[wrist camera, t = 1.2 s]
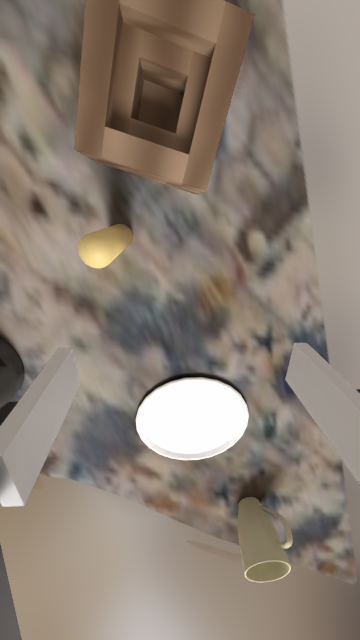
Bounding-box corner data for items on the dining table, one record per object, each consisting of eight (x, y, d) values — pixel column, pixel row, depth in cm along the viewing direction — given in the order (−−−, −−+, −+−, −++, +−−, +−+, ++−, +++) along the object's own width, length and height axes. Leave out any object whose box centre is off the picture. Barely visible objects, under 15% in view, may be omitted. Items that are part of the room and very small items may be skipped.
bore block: (96, 162, 27) (74, 149, 21) (112, 15, 22) (90, -60, 16) (197, 194, 29) (205, 190, 23) (232, 64, 24) (255, 14, 18)
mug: (269, 511, 59) (292, 579, 48) (229, 515, 59) (243, 584, 48) (274, 484, 55) (300, 553, 44) (230, 488, 54) (246, 558, 44)
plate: (124, 382, 41) (123, 387, 40) (246, 365, 41) (248, 370, 39) (147, 461, 50) (147, 467, 49) (247, 448, 50) (249, 453, 48)
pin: (108, 243, 31) (76, 263, 20) (111, 220, 30) (80, 228, 19) (130, 249, 31) (110, 271, 20) (134, 227, 30) (115, 238, 19)
